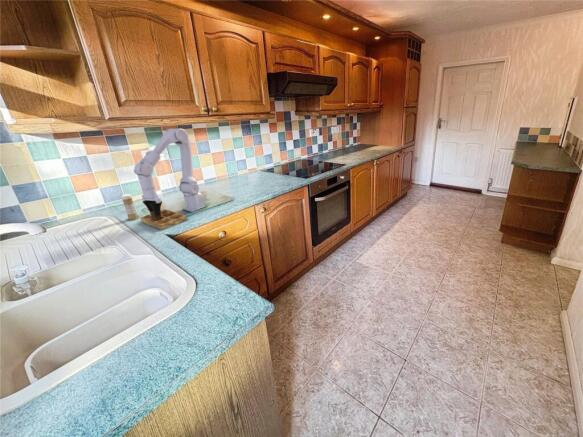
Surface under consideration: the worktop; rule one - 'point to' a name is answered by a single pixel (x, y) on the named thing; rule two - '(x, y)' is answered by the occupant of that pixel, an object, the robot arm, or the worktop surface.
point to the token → (154, 214)
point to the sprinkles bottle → (129, 206)
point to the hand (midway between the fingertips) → (155, 214)
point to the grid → (164, 219)
